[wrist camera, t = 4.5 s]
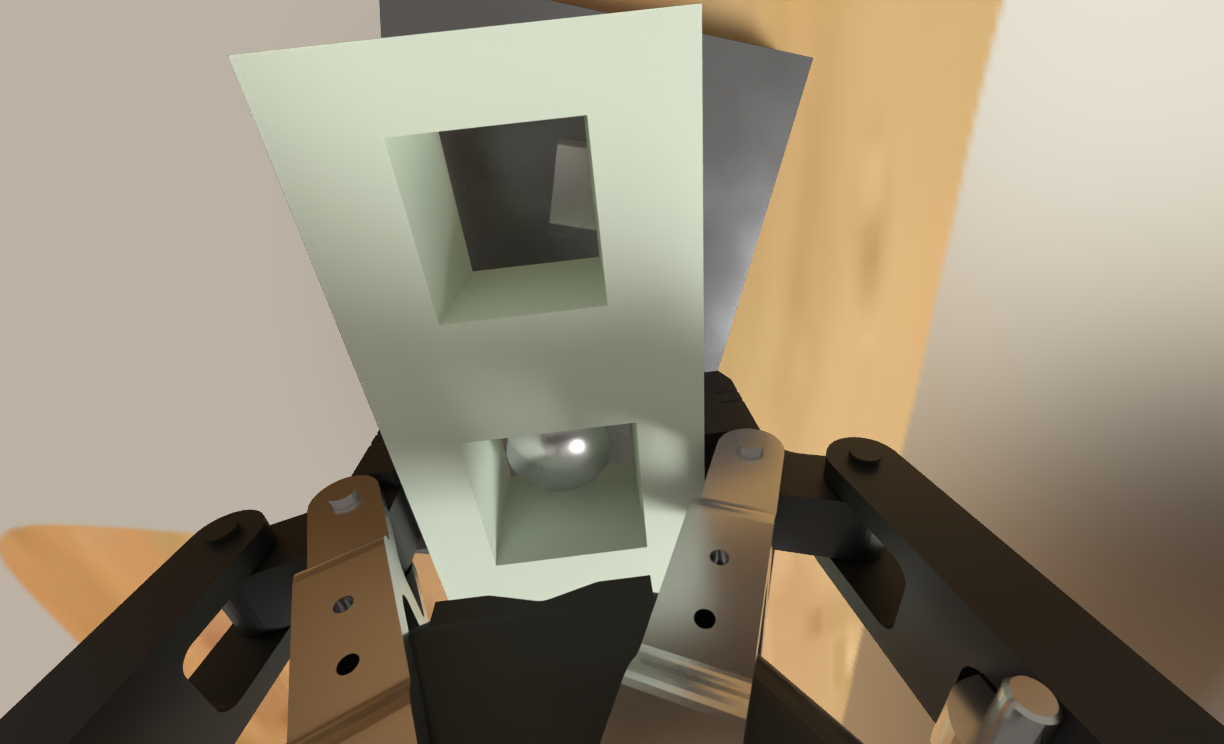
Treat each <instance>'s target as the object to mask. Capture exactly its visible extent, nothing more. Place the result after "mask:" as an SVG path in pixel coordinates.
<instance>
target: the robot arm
mask: <svg viewBox="0 0 1224 744" xmlns="http://www.w3.org/2000/svg"><path fill="white" fill-rule="evenodd" d="M704 466H705V483H704V486H703V489H702V492H701V495H700V498H694V497H693V498H692V500H691V501H690V504H689V506H688V509H687V512H686V515H685V518H684V521H683V524H682V527H681V530H680V533H679V535H678V538H677V541H676V544H675V547H674V550H673V553H672V556H671V559H670V562H669V565H668V568H667V571H666V573H665V576H664V579H663V582H662V585H661V588H660V591H659V593H657V592H653V590H652V584H651V577H650V575H646V576H638V577H630V578H622V579H614V580H606V581H598V582H595V583H592V584H590V585H587V586H584V587H581V588H579V589H576V590H573V591H570V592H567V593H565V594H562V595H559V596H556V597H554V598H551V599H548V600H545V601H533V600H525V599H516V598H507V597H499V596H490V595H487V596H479V597H471V598H463V599H455V600H447V601H439V602H436V603H435V606H434V610H433V613H432V617H431V620H430V622H429V619H428V615H427V611H426V607H425V603H424V599H423V595H422V591H421V587H420V583H419V579H418V575H417V571H416V568H415V566H414V564H413V561H412V559H413V556H414V553H415V551H416V550H419V549H427V546H426V543H425V541H424V538H423V536H422V533H421V531H420V528H419V526H418V523H417V521H416V519H415V516H414V514H413V511H412V509H411V506H410V504H409V501H408V499H407V496H406V494H405V491H404V489H403V486H402V484H401V482H400V479H399V477H398V474H397V472H396V469H395V467H394V464H393V462H392V459H391V457H390V454H389V452H388V449H387V447H386V445H385V442H384V440H383V437H382V435H381V432H380V430H379V431H378V435H376V436H375V438H374V439H373V441H372V443H371V446H369V448H368V450H367V451H366V453H365V454H364V456H363V458H362V459H361V461H360V463H359V464H358V466H357V468H356V470H355V471H354V473H353V474H352V476H351V477H347V478H344V479H342V480H339V481H337V482H335V483H333V484H331V485H329V486H327V487H326V488H324V489H323V490H322V491H320V492H319V493H318V494H317V495H316V496H315V497H314V498H313V499H312V501H311V502H310V504H309V506H308V510H307V513H305V514H302V515H299V516H296V517H293V518H290V519H287V520H284V521H281V522H278V523H275V524H272V525H269V523H268V521H267V520H266V518H265V516H264V515H263V514H262V513H261V512H260V511H257V510H243V511H238V512H234V513H231V514H228V515H226V516H223V517H221V518H219V519H217V520H215V521H213V522H211V523H210V524H208V525H206V526H205V527H203V528H202V529H201V530H199V531H198V532H197V533H196V534H195V535H193V536H192V537H191V538H190V539H189V540H188V541H187V542H186V543H185V544H184V545H183V546H182V547H181V548H180V549H179V550H178V551H177V552H176V553H174V554H173V555H172V556H171V557H170V558H169V559H168V560H167V561H166V562H165V563H164V564H163V565H162V566H161V567H160V568H159V569H158V570H157V571H156V572H154V573H153V574H152V575H151V576H150V577H149V578H148V579H147V580H146V581H145V582H144V583H143V584H142V585H141V586H140V587H139V588H138V589H137V590H136V591H135V592H133V593H132V594H131V595H130V596H129V597H128V598H127V599H126V600H125V601H124V602H123V603H122V604H121V605H120V606H119V607H118V608H117V609H116V610H115V611H114V612H112V613H111V614H110V615H109V616H108V617H107V618H106V619H105V620H104V621H103V622H102V623H101V624H100V625H99V626H98V627H97V628H96V629H95V630H94V631H93V632H91V633H90V634H89V635H88V636H87V637H86V638H85V639H84V640H83V641H82V642H81V643H80V644H79V645H78V646H77V647H76V648H75V649H74V650H73V651H72V652H70V653H69V655H67V656H66V657H65V658H64V659H63V660H62V661H61V662H60V663H59V664H58V665H57V666H56V667H55V668H54V669H53V670H52V671H51V672H49V674H47V675H46V676H45V677H44V678H43V679H42V680H41V681H40V682H39V683H38V684H37V685H36V686H35V687H34V688H33V689H32V690H31V691H30V692H28V693H27V694H26V695H25V696H24V697H23V698H22V699H21V700H20V701H19V702H18V703H17V704H16V705H15V706H14V707H13V708H12V709H11V710H10V711H8V712H7V714H5V715H4V716H3V717H2V718H1V719H0V744H235V742H236V741H237V739H238V738H239V736H240V734H241V733H242V731H243V730H244V728H245V727H246V725H247V724H248V722H249V721H250V719H251V717H252V716H253V714H254V713H255V711H256V710H257V708H258V707H259V705H260V704H261V702H262V700H263V699H264V697H265V696H266V694H267V693H268V691H269V690H270V688H271V687H272V685H273V683H274V682H275V680H276V679H277V677H278V676H279V674H280V673H281V671H282V670H283V668H284V666H285V665H286V663H287V662H288V660H289V659H290V668H289V697H288V726H287V743H286V744H864V743H862V742H861V741H860V740H859V739H858V738H856V737H855V736H854V735H853V734H852V733H851V732H850V731H848V730H847V729H846V728H845V727H844V726H843V725H841V724H840V723H839V722H838V721H837V720H835V719H834V718H833V717H832V716H831V715H830V714H828V713H827V712H826V711H825V710H824V709H823V708H821V707H820V706H819V705H818V704H817V703H816V702H814V701H813V700H812V699H811V698H810V697H809V696H807V695H806V694H805V693H804V692H803V691H801V690H800V689H799V688H798V687H797V686H796V685H794V684H793V683H792V682H791V681H790V680H789V679H787V678H786V677H785V676H784V675H783V674H782V673H780V672H779V671H778V670H777V669H776V668H775V667H773V666H772V665H771V664H770V663H769V662H768V661H766V660H765V659H764V658H763V657H762V653H763V644H764V635H765V626H766V617H767V609H768V601H769V593H770V585H771V577H772V569H773V562H774V554H775V550H781V551H788V552H795V553H801V554H808V555H814V556H815V558H816V560H817V561H818V563H819V564H820V565H821V567H822V568H823V569H824V571H825V572H826V574H827V575H828V576H829V578H830V579H831V580H832V582H833V583H834V585H835V586H836V587H837V589H838V590H839V591H840V593H841V594H842V596H843V597H844V598H845V600H846V601H847V602H848V604H849V605H850V607H851V608H852V609H853V611H854V612H855V613H856V615H857V616H858V618H859V619H860V620H861V622H862V623H863V624H864V626H865V627H866V629H867V630H868V631H869V632H870V634H871V635H872V637H873V638H874V640H875V641H876V642H877V644H878V645H879V646H880V648H881V649H882V651H883V652H884V653H885V655H886V656H887V657H888V659H889V660H890V662H891V663H892V664H893V666H894V667H895V669H896V670H897V671H898V673H899V674H900V675H901V677H902V678H903V679H904V681H905V682H906V684H907V685H908V686H909V688H910V689H911V691H912V692H913V693H914V695H915V696H916V697H917V699H918V700H919V702H920V703H921V704H922V706H923V707H924V709H925V710H926V711H927V713H928V714H929V715H930V717H931V718H932V720H933V721H934V722H935V723H936V725H935V727H934V729H933V732H932V735H931V742H930V744H1224V726H1223V725H1222V724H1221V723H1219V722H1218V721H1217V720H1216V719H1215V718H1214V717H1212V716H1211V715H1210V714H1209V713H1208V712H1206V711H1205V710H1204V709H1203V708H1202V707H1200V706H1199V705H1198V704H1197V703H1196V702H1194V701H1193V700H1192V699H1191V698H1190V697H1188V696H1187V695H1186V694H1185V693H1184V692H1182V691H1181V690H1180V689H1179V688H1178V687H1176V686H1175V685H1174V684H1173V683H1172V682H1171V681H1169V680H1168V679H1167V678H1166V677H1164V676H1163V675H1162V674H1161V673H1159V672H1158V671H1157V670H1156V669H1155V668H1154V667H1153V666H1151V665H1150V664H1149V663H1148V662H1146V661H1145V660H1144V659H1143V658H1142V657H1141V656H1139V655H1138V654H1137V653H1136V652H1135V651H1133V650H1132V649H1131V648H1130V647H1129V646H1127V645H1126V644H1125V643H1124V642H1123V641H1121V640H1120V639H1119V638H1118V637H1117V636H1115V635H1114V634H1113V633H1112V632H1111V631H1110V630H1108V629H1107V628H1106V627H1105V626H1103V625H1102V624H1101V623H1100V622H1099V621H1097V620H1096V619H1095V618H1094V617H1093V616H1092V615H1090V614H1089V613H1088V612H1087V611H1086V610H1084V609H1083V608H1082V607H1081V606H1079V605H1078V604H1077V603H1076V602H1075V601H1074V600H1072V599H1071V598H1070V597H1069V596H1068V595H1066V594H1065V593H1064V592H1063V591H1062V590H1060V589H1059V588H1058V587H1057V586H1056V585H1054V584H1053V583H1052V582H1051V581H1050V580H1048V579H1047V578H1046V577H1045V576H1044V575H1042V574H1041V573H1040V572H1039V571H1038V570H1036V569H1035V568H1034V567H1033V566H1032V565H1031V564H1029V563H1028V562H1027V561H1026V560H1025V559H1023V558H1022V557H1021V556H1020V555H1019V554H1017V553H1016V552H1015V551H1014V550H1013V549H1011V548H1010V547H1009V546H1008V545H1007V544H1005V543H1004V542H1003V541H1002V540H1000V539H999V538H998V537H997V536H996V535H995V534H993V533H992V532H991V531H990V530H989V529H987V528H986V527H985V526H984V525H983V524H981V523H980V522H979V521H978V520H977V519H975V518H974V517H973V516H972V515H971V514H970V513H968V512H967V511H966V510H965V509H964V508H962V507H961V506H960V505H959V504H957V503H956V502H955V501H954V500H953V499H952V498H950V497H949V496H948V495H947V494H946V493H944V492H943V491H942V490H941V489H940V488H938V487H937V486H936V485H935V484H934V483H932V482H931V481H930V480H929V479H928V478H926V477H925V476H924V475H923V474H922V473H920V472H919V471H918V470H917V469H916V468H914V467H913V466H912V465H911V464H910V463H909V462H907V461H906V460H905V459H904V458H903V457H901V456H900V455H899V454H898V453H897V452H895V451H894V450H893V449H891V448H890V447H888V446H886V445H884V444H882V443H880V442H877V441H874V440H871V439H866V438H858V437H849V438H842V439H839V440H836V441H834V442H833V443H831V444H830V445H829V447H828V448H827V452H826V456H819V455H809V454H799V453H794V452H789V451H786V450H784V447H783V445H782V443H781V442H780V440H779V439H777V438H776V437H775V436H773V435H772V434H770V433H767V432H765V431H762V430H760V429H759V427H758V425H757V424H756V422H755V420H754V419H753V417H752V415H751V413H750V412H749V410H748V408H747V406H746V405H745V403H744V401H742V398H741V396H740V394H739V393H738V392H737V389H736V387H735V386H734V384H733V382H732V381H731V379H730V378H728V377H727V376H725V375H723V374H722V373H720V372H719V371H711V372H704ZM221 609H222V610H223V611H224V612H225V613H226V615H227V616H228V617H229V619H230V620H231V621H232V623H233V624H232V625H231V627H230V628H229V629H228V630H227V632H226V633H225V634H224V635H223V637H222V638H221V639H220V640H219V642H218V643H217V644H216V645H215V647H214V648H213V649H212V650H211V652H210V653H209V654H208V655H207V657H206V658H205V659H204V660H203V662H202V663H201V664H200V665H199V667H198V668H197V669H196V670H195V672H194V673H193V674H192V675H191V677H190V678H189V679H187V678H186V677H185V675H184V673H183V661H184V658H185V655H186V653H187V651H188V649H189V647H190V646H191V644H192V643H193V642H194V641H195V640H196V638H197V637H198V636H199V635H200V634H201V632H202V631H203V630H204V629H205V628H206V627H207V625H208V624H209V623H210V622H211V621H212V619H213V618H214V617H215V616H216V615H217V613H218V612H219V611H220V610H221Z"/></svg>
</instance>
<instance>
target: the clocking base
mask: <svg viewBox="0 0 1224 744" xmlns="http://www.w3.org/2000/svg"><path fill="white" fill-rule="evenodd" d="M599 14H609V13H605V12H601V11H596V10H592V9H587V8H582V7H578V6H573V5H569V4H564V3H560V2H555V1H550V0H380V20H381V38H388V37H397V36H406V35H415V34H425V33H434V32H443V31H452V30H461V29H471V28H480V27H489V26H498V25H507V24H517V23H526V22H535V21H544V20H553V19H563V18H572V17H581V16H590V15H599ZM812 60H813V58H812V57H807V56H802V55H798V54H793V53H789V52H784V51H779V50H775V49H770V48H766V47H761V46H757V45H752V44H747V43H743V42H738V41H734V40H729V39H725V38H720V37H715V36H711V35H706V34H702V110H703V288H704V372H711V371H718V368H719V365H720V361H721V358H722V355H723V352H724V348H725V345H726V342H727V338H728V335H729V332H730V329H731V325H732V322H733V319H734V316H735V312H736V309H737V306H738V302H739V299H740V296H741V293H742V289H743V286H744V283H745V280H746V276H747V273H748V270H749V266H750V263H751V260H752V257H753V253H754V250H755V247H756V243H757V240H758V237H759V234H760V230H761V227H762V224H763V221H764V217H765V214H766V211H767V207H768V204H769V201H770V198H771V194H772V191H773V188H774V185H775V181H776V178H777V175H778V171H779V168H780V165H781V162H782V158H783V155H784V152H785V148H786V145H787V142H788V139H789V135H790V132H791V129H792V126H793V122H794V119H795V116H796V112H797V109H798V106H799V103H800V99H801V96H802V93H803V89H804V86H805V83H806V80H807V76H808V73H809V70H810V67H811V63H812ZM439 136H440V140H441V144H442V148H443V152H444V156H445V161H446V165H447V169H448V173H449V177H450V181H451V185H452V189H453V193H454V198H455V202H456V206H457V210H458V214H459V218H460V222H461V226H462V230H463V234H464V239H465V243H466V247H467V251H468V255H469V259H470V263H471V267H472V271H481V270H490V269H499V268H507V267H516V266H525V265H533V264H542V263H551V262H559V261H568V260H577V259H585V258H594V257H599V248H598V239H597V230H596V221H595V212H594V203H593V194H592V185H591V176H590V167H589V158H588V149H587V140H586V131H585V122H584V115H583V116H574V117H565V118H556V119H547V120H538V121H529V122H520V123H511V124H502V125H493V126H484V127H475V128H466V129H457V130H448V131H439ZM502 442H503V446H504V450H505V454H506V458H507V462H508V466H509V469H510V473H511V476H515V475H518V476H519V477H520V478H521V479H523V480H524V481H526V482H527V483H529V484H531V485H533V486H535V487H538V488H541V489H545V490H552V491H566V490H572V489H576V488H579V487H582V486H584V485H586V484H588V483H590V482H591V481H593V480H594V479H596V478H597V477H598V476H599V475H600V474H601V473H602V472H603V470H604V469H605V467H606V466H607V464H614V463H622V462H631V461H633V456H632V446H631V436H630V425H629V423H627V424H619V425H611V426H602V427H594V428H586V429H577V430H569V431H561V432H553V433H544V434H536V435H528V436H519V437H511V438H503V439H502ZM415 553H423V554H430V553H429V551H428V548H427V549H419V550H416V551H415Z"/></svg>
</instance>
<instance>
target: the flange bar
mask: <svg viewBox="0 0 1224 744" xmlns="http://www.w3.org/2000/svg"><path fill="white" fill-rule="evenodd" d="M228 57H229V59H230V62H231V64H232V67H233V69H234V72H235V74H236V77H237V79H238V82H239V84H240V87H241V89H242V92H243V94H244V97H245V99H246V102H247V104H248V106H249V109H250V112H251V114H252V116H253V119H254V121H255V124H256V126H257V128H258V131H259V134H260V136H261V139H262V141H263V143H264V146H265V148H266V151H267V153H268V156H269V158H270V161H271V163H272V166H273V168H274V171H275V173H276V175H277V178H278V180H279V183H280V186H281V188H282V190H283V193H284V195H285V198H286V200H287V203H288V205H289V208H290V210H291V213H292V215H293V217H294V220H295V222H296V225H297V227H298V230H299V232H300V235H301V237H302V240H303V242H304V245H305V247H306V250H307V252H308V255H309V257H310V260H311V262H312V264H313V267H314V269H315V272H316V274H317V276H318V279H319V282H320V284H321V286H322V289H323V292H324V294H325V297H326V299H327V301H328V304H329V306H330V309H331V311H332V314H333V316H334V319H335V321H336V324H337V326H338V329H339V331H340V333H341V336H342V338H343V341H344V343H345V346H346V348H347V351H348V353H349V356H350V358H351V361H352V363H353V366H354V368H355V370H356V373H357V375H358V378H359V380H360V383H361V385H362V388H363V390H364V393H365V395H366V398H367V400H368V403H369V405H370V408H371V410H372V412H373V415H374V417H375V420H376V422H377V425H378V427H379V430H380V432H381V435H382V437H383V440H384V442H385V445H386V447H387V449H388V452H389V454H390V457H391V459H392V462H393V464H394V467H395V469H396V472H397V474H398V477H399V479H400V482H401V484H402V486H403V489H404V491H405V494H406V496H407V499H408V501H409V504H410V506H411V509H412V511H413V514H414V516H415V519H416V521H417V523H418V526H419V528H420V531H421V533H422V536H423V538H424V541H425V543H426V546H427V548H428V551H429V553H430V556H431V558H432V561H433V563H434V565H435V568H436V570H437V573H438V575H439V578H440V580H441V583H442V585H443V588H444V590H445V593H446V595H447V598H448V600H455V599H463V598H471V597H479V596H487V595H490V596H499V597H507V598H516V599H525V600H533V601H545V600H548V599H551V598H554V597H556V596H559V595H562V594H565V593H567V592H570V591H573V590H576V589H579V588H581V587H584V586H587V585H590V584H592V583H595V582H598V581H606V580H614V579H622V578H630V577H638V576H646V575H650V577H651V584H652V590H653V592H657V593H659V591H660V588H661V585H662V582H663V579H664V576H665V573H666V571H667V568H668V565H669V562H670V559H671V556H672V553H673V550H674V547H675V544H676V541H677V538H678V535H679V533H680V530H681V527H682V524H683V521H684V518H685V515H686V512H687V509H688V506H689V504H690V501H691V500H692V498H693V497H694V498H700V495H701V492H702V489H703V486H704V483H705V466H704V288H703V110H702V3H701V4H691V5H682V6H673V7H664V8H655V9H645V10H636V11H627V12H618V13H609V14H599V15H590V16H581V17H572V18H563V19H553V20H544V21H535V22H526V23H517V24H507V25H498V26H489V27H480V28H471V29H461V30H452V31H443V32H434V33H425V34H415V35H406V36H397V37H388V38H379V39H371V40H361V41H351V42H342V43H333V44H323V45H316V46H315V45H314V46H305V47H296V48H287V49H278V50H269V51H259V52H250V53H241V54H232V55H228ZM583 115H584V122H585V131H586V140H587V149H588V158H589V167H590V176H591V185H592V194H593V203H594V212H595V221H596V230H597V239H598V248H599V257H594V258H585V259H577V260H568V261H559V262H551V263H542V264H533V265H525V266H516V267H507V268H499V269H490V270H481V271H472V267H471V263H470V259H469V255H468V251H467V247H466V243H465V239H464V234H463V230H462V226H461V222H460V218H459V214H458V210H457V206H456V202H455V198H454V193H453V189H452V185H451V181H450V177H449V173H448V169H447V165H446V161H445V156H444V152H443V148H442V144H441V140H440V136H439V131H448V130H457V129H466V128H475V127H484V126H493V125H502V124H511V123H520V122H529V121H538V120H547V119H556V118H565V117H574V116H583ZM627 423H629V425H630V436H631V446H632V456H633V461H631V462H622V463H614V464H607V466H606V467H605V469H604V470H603V472H602V473H601V474H600V475H599V476H598V477H597V478H596V479H594V480H593V481H591V482H590V483H588V484H586V485H584V486H582V487H579V488H576V489H572V490H566V491H552V490H545V489H541V488H538V487H535V486H533V485H531V484H529V483H527V482H526V481H524V480H523V479H521V478H520V477H519V476H518V475H515V476H511V473H510V469H509V466H508V462H507V458H506V454H505V450H504V446H503V442H502V439H503V438H511V437H519V436H528V435H536V434H544V433H553V432H561V431H569V430H577V429H586V428H594V427H602V426H611V425H619V424H627Z"/></svg>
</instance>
